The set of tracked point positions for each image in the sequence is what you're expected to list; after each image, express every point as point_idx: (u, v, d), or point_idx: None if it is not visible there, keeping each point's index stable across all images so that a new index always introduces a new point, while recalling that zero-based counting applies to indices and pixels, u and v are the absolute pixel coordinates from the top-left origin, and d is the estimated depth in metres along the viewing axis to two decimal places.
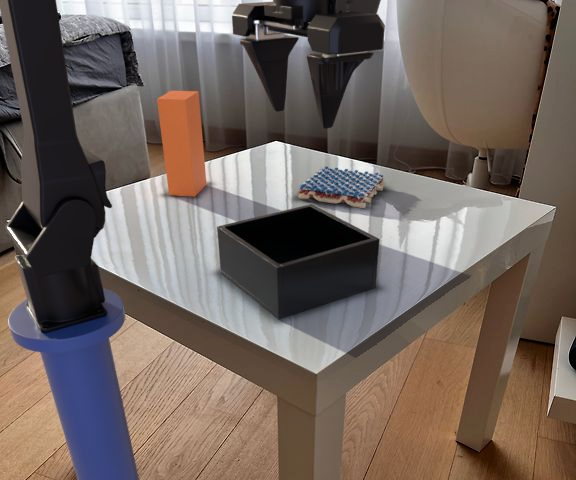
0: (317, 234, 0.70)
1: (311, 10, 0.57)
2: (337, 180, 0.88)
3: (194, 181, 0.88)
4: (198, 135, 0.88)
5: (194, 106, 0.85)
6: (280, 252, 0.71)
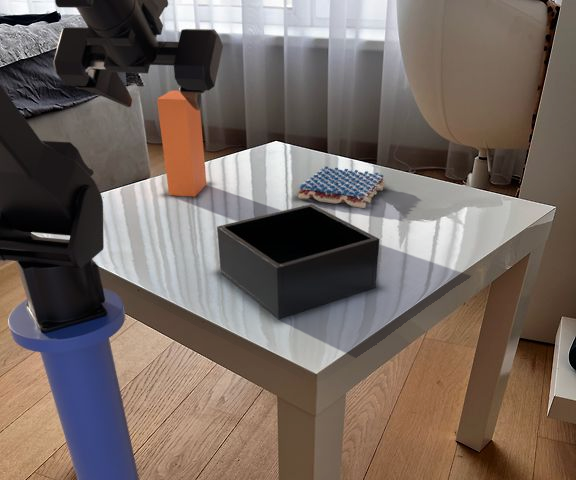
0: (317, 234, 0.70)
1: (152, 52, 0.67)
2: (337, 180, 0.88)
3: (194, 181, 0.88)
4: (198, 135, 0.88)
5: None
6: (280, 252, 0.71)
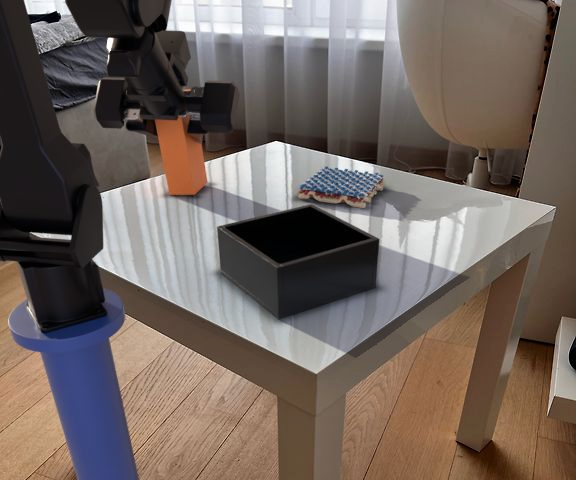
0: (317, 234, 0.70)
1: (180, 102, 0.78)
2: (337, 180, 0.88)
3: (193, 179, 0.88)
4: None
5: None
6: (280, 252, 0.71)
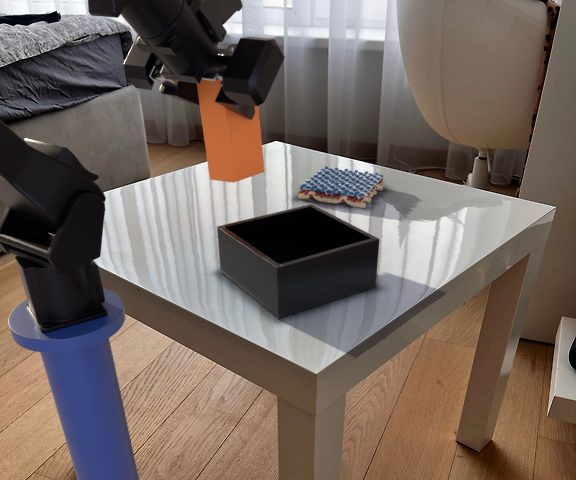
0: (317, 234, 0.70)
1: (206, 61, 0.62)
2: (337, 180, 0.88)
3: (233, 163, 0.71)
4: None
5: None
6: (280, 252, 0.71)
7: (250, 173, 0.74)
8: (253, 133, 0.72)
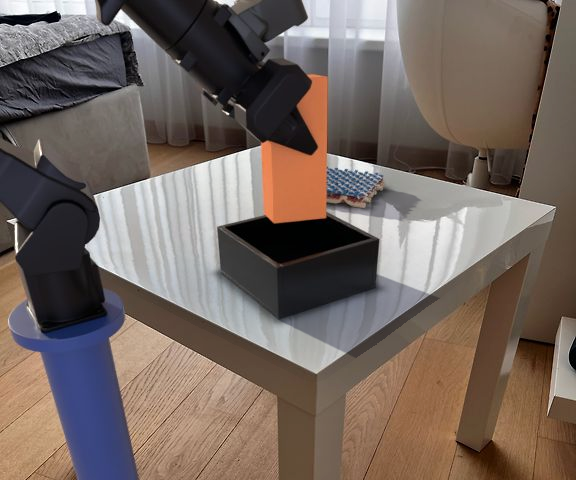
0: (317, 234, 0.70)
1: (234, 83, 0.53)
2: (337, 180, 0.88)
3: (276, 201, 0.61)
4: None
5: (304, 96, 0.57)
6: (280, 252, 0.71)
7: (302, 216, 0.62)
8: (314, 171, 0.60)
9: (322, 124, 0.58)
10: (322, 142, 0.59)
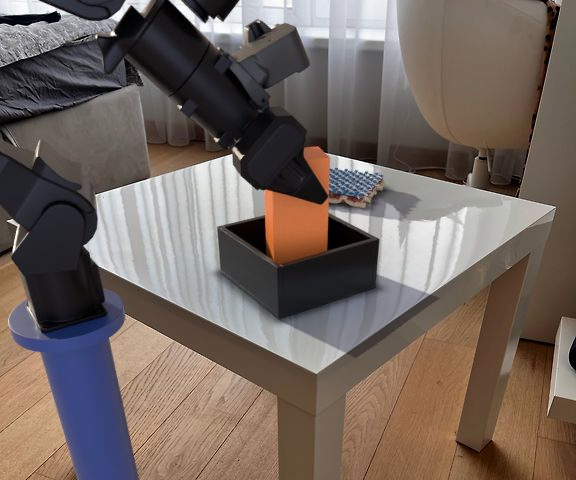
0: None
1: (235, 128, 0.53)
2: (337, 180, 0.88)
3: None
4: (312, 216, 0.60)
5: None
6: None
7: None
8: (314, 242, 0.62)
9: None
10: (323, 216, 0.61)
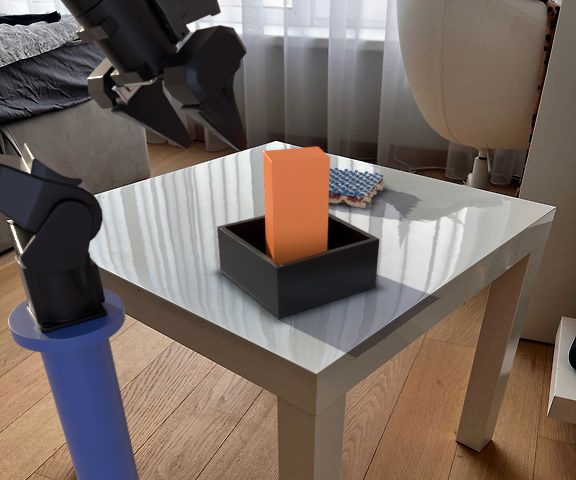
0: None
1: (156, 58, 0.51)
2: (337, 180, 0.88)
3: None
4: (312, 216, 0.60)
5: (306, 175, 0.58)
6: None
7: None
8: (314, 242, 0.62)
9: (323, 200, 0.60)
10: (323, 216, 0.61)
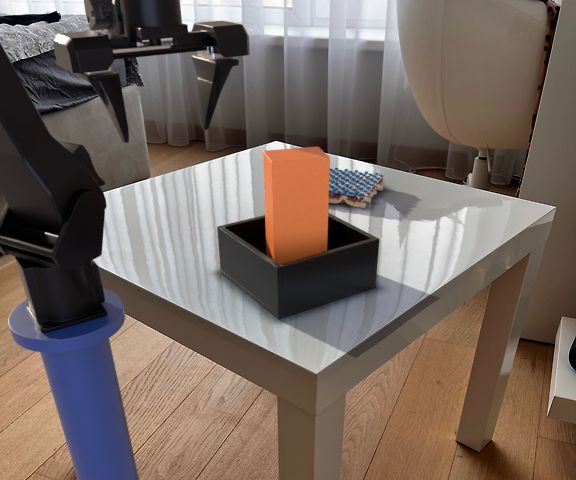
0: None
1: None
2: (337, 180, 0.88)
3: None
4: (312, 216, 0.60)
5: (306, 175, 0.58)
6: None
7: None
8: (314, 242, 0.62)
9: (323, 200, 0.60)
10: (323, 216, 0.61)
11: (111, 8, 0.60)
